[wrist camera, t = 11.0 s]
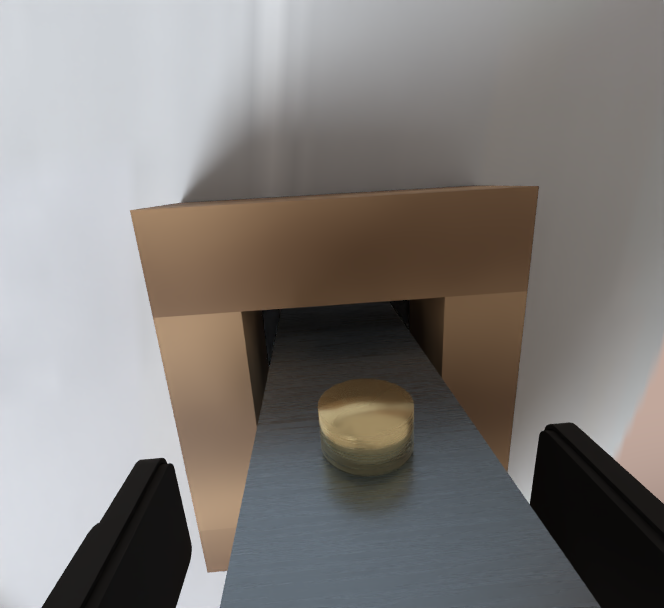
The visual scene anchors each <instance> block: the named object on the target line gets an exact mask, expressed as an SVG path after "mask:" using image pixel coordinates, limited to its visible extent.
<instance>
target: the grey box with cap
mask: <svg viewBox="0 0 664 608" xmlns="http://www.w3.org/2000/svg"><path fill="white" fill-rule="evenodd" d="M220 608H601V607H600V605H599V604H598V602H597V601H596V600H595V598H594V597H593V595H592V594H591V592H590V591H589V590H588V588H587V587H586V585H585V584H584V582H583V581H582V579H581V578H580V577H579V575H578V574H577V572H576V571H575V569H574V568H573V566H572V565H571V564H570V562H569V561H568V559H567V558H566V556H565V555H564V553H563V552H562V551H561V549H560V548H559V546H558V545H557V543H556V542H555V540H554V539H553V538H552V536H551V535H550V533H549V532H548V530H547V529H546V528H545V526H544V525H543V523H542V522H541V520H540V519H539V517H538V516H537V515H536V513H535V512H534V510H533V509H532V507H531V506H530V504H529V503H528V502H527V500H526V499H525V497H524V496H523V494H522V493H521V491H520V490H519V489H518V487H517V486H516V484H515V483H514V481H513V480H512V479H511V477H510V476H509V474H508V473H507V471H506V470H505V468H504V467H503V466H502V464H501V463H500V461H499V460H498V458H497V457H496V455H495V454H494V453H493V451H492V450H491V448H490V447H489V445H488V444H487V442H486V441H485V440H484V438H483V437H482V435H481V434H480V432H479V431H478V429H477V428H476V427H475V425H474V424H473V422H472V421H471V419H470V418H469V417H468V415H467V414H466V412H465V411H464V409H463V408H462V406H461V405H460V404H459V402H458V401H457V399H456V398H455V396H454V395H453V393H452V392H451V391H450V389H449V388H448V386H447V385H446V383H445V382H444V380H443V379H442V378H441V376H440V375H439V373H438V372H437V370H436V369H435V367H434V366H433V365H432V363H431V362H430V360H429V359H428V357H427V356H426V355H425V353H424V352H423V350H422V349H421V347H420V346H419V344H418V343H417V342H416V340H415V339H414V337H413V336H412V334H411V333H410V331H409V330H408V329H407V327H406V326H405V324H404V323H403V321H402V320H401V318H400V317H399V316H398V314H397V313H396V311H395V310H394V308H393V307H392V306H391V304H390V303H389V301H383V302H369V303H355V304H341V305H327V306H313V307H299V308H285V309H281V314H280V319H279V324H278V329H277V333H276V338H275V343H274V348H273V353H272V358H271V363H270V367H269V372H268V377H267V382H266V387H265V392H264V396H263V401H262V406H261V411H260V416H259V421H258V425H257V430H256V435H255V440H254V445H253V450H252V454H251V459H250V464H249V469H248V474H247V479H246V484H245V488H244V493H243V498H242V503H241V508H240V513H239V517H238V522H237V527H236V532H235V537H234V542H233V546H232V551H231V556H230V561H229V566H228V571H227V575H226V580H225V585H224V590H223V595H222V600H221V605H220Z"/></svg>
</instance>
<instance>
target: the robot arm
mask: <svg viewBox="0 0 664 608" xmlns="http://www.w3.org/2000/svg"><path fill="white" fill-rule="evenodd" d="M530 506H531V507H532V509H533V510H534V512H535V513H536V515H537V516H538V517H539V519H540V520H541V522H542V523H543V525H544V526H545V528H546V529H547V530H548V532H549V533H550V535H551V536H552V538H553V539H554V540H555V542H556V543H557V545H558V546H559V548H560V549H561V551H562V552H563V553H564V555H565V556H566V558H567V559H568V561H569V562H570V564H571V565H572V566H573V568H574V569H575V571H576V572H577V574H578V575H579V577H580V578H581V579H582V581H583V582H584V584H585V585H586V587H587V588H588V590H589V591H590V592H591V594H592V595H593V597H594V598H595V600H596V601H597V602H598V604H599V605H600V607H601V608H664V504H663V503H662V502H661V501H660V500H659V499H658V498H656V497H655V496H654V495H653V494H652V493H651V492H650V491H649V490H647V489H646V488H645V487H644V486H643V485H642V484H641V483H640V482H639V481H638V480H636V479H635V478H634V477H633V476H632V475H631V474H629V472H628V471H626V470H625V469H624V468H623V467H622V466H620V464H619V463H618V462H616V461H615V460H614V459H613V458H612V457H611V456H610V455H609V454H608V453H606V452H605V451H604V450H603V449H602V448H601V447H600V446H599V445H598V444H596V443H595V442H594V441H593V440H592V439H591V438H590V437H589V436H587V435H586V434H585V433H584V432H583V431H582V430H581V429H580V428H579V427H577V426H576V425H575V424H573V423H559V424H549V425H547V426H546V427H545V430H544V431H541V433H540V435H539V441H538V448H537V456H536V463H535V470H534V477H533V485H532V492H531V499H530ZM191 552H192V546H191V540H190V536H189V531H188V527H187V522H186V518H185V513H184V509H183V505H182V500H181V496H180V491H179V487H178V482H177V478H176V474H175V469H174V466H173V464H171V463H170V464H167V462H166V460H165V459H164V458H156V459H144V460H139V461H138V462H137V463H136V464H135V466H134V467H133V469H132V471H131V472H130V474H129V475H128V477H127V479H126V480H125V482H124V484H123V485H122V487H121V488H120V490H119V492H118V493H117V495H116V497H115V498H114V500H113V502H112V503H111V505H110V506H109V508H108V510H107V511H106V513H105V515H104V516H103V518H102V519H101V521H100V523H98V524H96V525H95V526H94V527H93V528H92V529H91V530H90V532H89V533H88V534H87V536H86V537H85V539H84V541H83V542H82V544H81V545H80V547H79V549H78V550H77V552H76V553H75V555H74V557H73V558H72V560H71V561H70V563H69V565H68V566H67V568H66V569H65V571H64V573H63V574H62V576H61V577H60V579H59V580H58V582H57V584H56V585H55V587H54V588H53V590H52V592H51V593H50V595H49V596H48V598H47V600H46V601H45V603H44V604H43V606H42V608H176V605H177V602H178V599H179V595H180V592H181V589H182V586H183V582H184V579H185V576H186V573H187V570H188V566H189V563H190V559H191Z"/></svg>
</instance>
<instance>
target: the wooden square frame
mask: <svg viewBox="0 0 664 608" xmlns="http://www.w3.org/2000/svg"><path fill="white" fill-rule="evenodd" d="M538 189H539V186H460V187H443V188H426V189H409V190H392V191H375V192H358V193H341V194H324V195H307V196H290V197H273V198H256V199H239V200H222V201H205V202H187V203H176V204H169V205H163V206H156V207H149V208H143V209H136V210H130V212H131V217H132V222H133V226H134V231H135V236H136V240H137V245H138V250H139V254H140V259H141V264H142V268H143V273H144V278H145V282H146V287H147V292H148V296H149V301H150V306H151V310H152V315H153V320H154V324H155V329H156V334H157V338H158V343H159V348H160V352H161V357H162V362H163V366H164V371H165V376H166V380H167V385H168V390H169V394H170V399H171V404H172V408H173V413H174V418H175V422H176V427H177V432H178V436H179V441H180V446H181V450H182V455H183V460H184V464H185V469H186V474H187V478H188V483H189V488H190V492H191V497H192V502H193V506H194V511H195V516H196V520H197V525H198V530H199V534H200V539H201V544H202V548H203V553H204V558H205V562H206V567H207V572H218V571H228V566H229V561H230V556H231V551H232V546H233V542H234V537H235V532H236V527H237V522H238V517H239V513H240V508H241V503H242V498H243V493H244V488H245V484H246V479H247V474H248V469H249V464H250V459H251V454H252V450H253V445H254V440H255V435H256V430H257V425H258V421H259V416H260V411H261V406H262V401H263V396H264V392H265V387H266V382H267V377H268V372H269V365H268V357H267V348H266V340H265V331H264V323H263V315H262V310H271V309H285V308H299V307H313V306H327V305H341V304H355V303H369V302H383V301H397V300H410V315H409V331H410V333H411V334H412V336H413V337H414V339H415V340H416V342H417V343H418V344H419V346H420V347H421V349H422V350H423V352H424V353H425V355H426V356H427V357H428V359H429V360H430V362H431V363H432V365H433V366H434V367H435V369H436V370H437V372H438V373H439V375H440V376H441V378H442V379H443V380H444V382H445V383H446V385H447V386H448V388H449V389H450V391H451V392H452V393H453V395H454V396H455V398H456V399H457V401H458V402H459V404H460V405H461V406H462V408H463V409H464V411H465V412H466V414H467V415H468V417H469V418H470V419H471V421H472V422H473V424H474V425H475V427H476V428H477V429H478V431H479V432H480V434H481V435H482V437H483V438H484V440H485V441H486V442H487V444H488V445H489V447H490V448H491V450H492V451H493V453H494V454H495V455H496V457H497V458H498V460H499V461H500V463H501V464H502V466H503V467H504V468H505V470H506V471H508V462H509V453H510V444H511V435H512V425H513V416H514V407H515V398H516V389H517V380H518V371H519V362H520V353H521V344H522V335H523V326H524V316H525V307H526V298H527V289H528V280H529V271H530V262H531V253H532V244H533V235H534V226H535V216H536V207H537V198H538Z"/></svg>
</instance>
